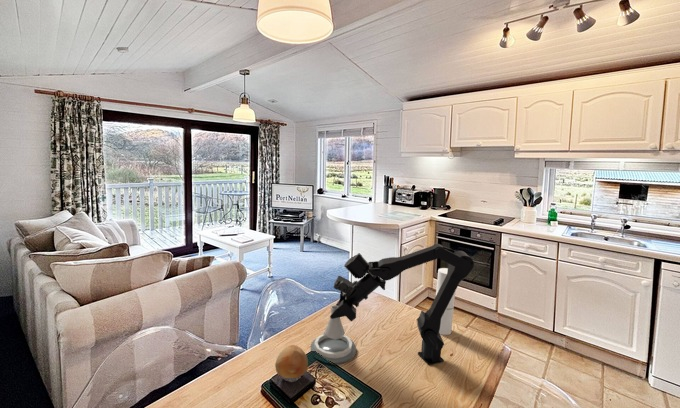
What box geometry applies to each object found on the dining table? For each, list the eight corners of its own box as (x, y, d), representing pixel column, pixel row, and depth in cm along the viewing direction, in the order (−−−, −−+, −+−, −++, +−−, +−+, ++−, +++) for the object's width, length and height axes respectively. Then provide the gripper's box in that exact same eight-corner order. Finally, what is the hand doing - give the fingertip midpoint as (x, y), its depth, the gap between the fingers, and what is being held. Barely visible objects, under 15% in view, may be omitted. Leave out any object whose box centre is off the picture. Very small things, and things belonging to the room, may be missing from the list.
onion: (269, 375, 95) (269, 345, 94) (297, 363, 101) (298, 335, 100) (284, 395, 87) (285, 362, 86) (313, 380, 94) (314, 350, 92)
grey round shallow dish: (363, 359, 105) (363, 352, 105) (317, 368, 99) (318, 360, 99) (345, 334, 120) (346, 327, 119) (305, 340, 114) (305, 333, 114)
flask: (319, 335, 108) (320, 307, 107) (331, 326, 114) (333, 301, 113) (336, 342, 104) (338, 314, 103) (348, 333, 110) (349, 306, 109)
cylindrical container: (448, 326, 129) (454, 268, 126) (453, 335, 122) (459, 275, 119) (431, 324, 130) (436, 267, 126) (434, 334, 123) (440, 273, 119)
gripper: (349, 261, 115) (319, 288, 117) (346, 280, 96) (311, 311, 98) (369, 283, 115) (339, 309, 117) (371, 306, 97) (334, 336, 99)
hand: (331, 315), depth 108 cm, fingers closed on flask, 3 cm apart
